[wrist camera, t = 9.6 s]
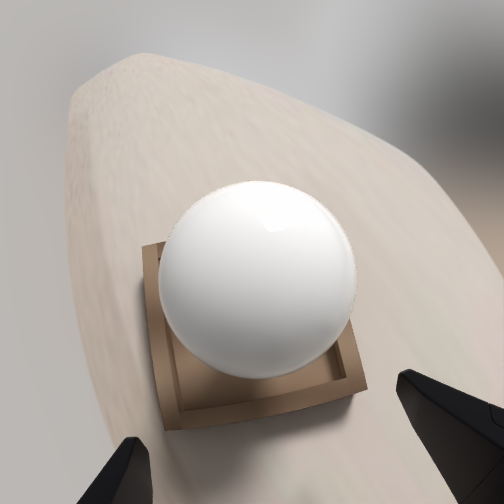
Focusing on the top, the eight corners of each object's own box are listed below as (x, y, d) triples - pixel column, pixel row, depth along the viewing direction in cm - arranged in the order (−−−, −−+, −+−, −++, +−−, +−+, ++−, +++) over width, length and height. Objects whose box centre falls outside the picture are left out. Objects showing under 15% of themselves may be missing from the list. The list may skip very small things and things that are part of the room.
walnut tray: (355, 388, 16) (367, 389, 14) (175, 425, 15) (164, 430, 13) (310, 229, 21) (315, 212, 19) (153, 260, 20) (141, 246, 18)
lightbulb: (329, 298, 17) (410, 191, 7) (283, 396, 15) (327, 427, 5) (234, 254, 19) (210, 115, 9) (183, 346, 17) (81, 291, 6)
